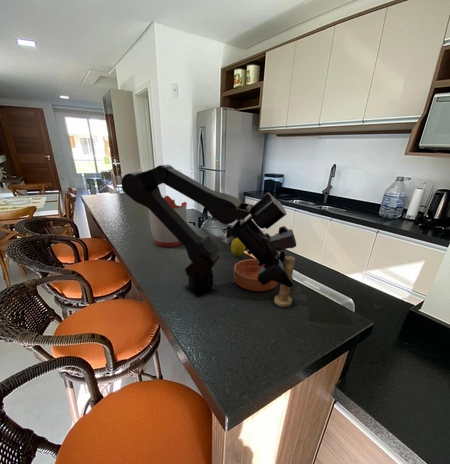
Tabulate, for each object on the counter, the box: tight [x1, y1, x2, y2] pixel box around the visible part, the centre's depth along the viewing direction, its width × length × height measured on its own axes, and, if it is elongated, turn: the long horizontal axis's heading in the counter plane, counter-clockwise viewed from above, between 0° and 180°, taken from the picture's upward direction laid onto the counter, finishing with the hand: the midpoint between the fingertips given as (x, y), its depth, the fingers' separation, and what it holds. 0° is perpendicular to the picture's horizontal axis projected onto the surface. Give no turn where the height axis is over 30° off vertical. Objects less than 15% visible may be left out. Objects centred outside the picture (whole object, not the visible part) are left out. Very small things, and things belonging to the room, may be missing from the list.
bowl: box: [232, 258, 279, 292], centre depth 78 cm, size 14×14×4 cm
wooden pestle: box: [273, 255, 296, 308], centre depth 66 cm, size 5×5×14 cm
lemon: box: [230, 237, 246, 258], centre depth 95 cm, size 6×6×8 cm
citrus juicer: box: [148, 195, 188, 248], centre depth 104 cm, size 16×17×20 cm
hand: (291, 282), depth 66 cm, fingers open, 3 cm apart
